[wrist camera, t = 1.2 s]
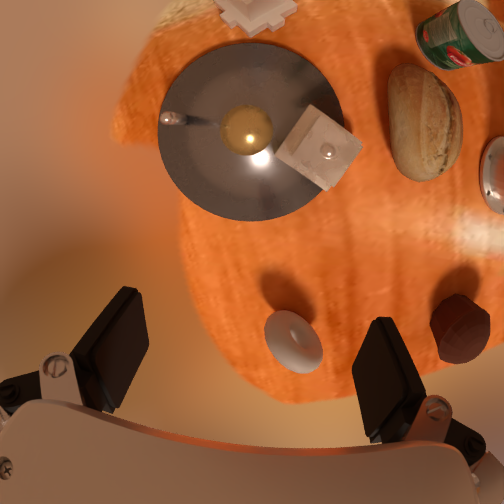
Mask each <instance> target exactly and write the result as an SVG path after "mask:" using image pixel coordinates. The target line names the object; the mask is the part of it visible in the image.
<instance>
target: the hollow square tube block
mask: <svg viewBox="0 0 504 504" xmlns="http://www.w3.org/2000/svg"><path fill="white" fill-rule="evenodd" d="M213 1H214V3H215V5H216V6H217V7H218V8H219V9H220V10H221V11H223V13H222V14H220V17H221V19H222V21H223V22H224V23H226V24H227V25H228V26H229V27H230V28H231V29H232V28H234V27H235V26H237V25H238V26H239V27H240V28H241V29H242V30H243V31H244V32H245V33H246V34H247V35H248V36H249V37H250V38H252V37H253V36H255V35H256V34H258V33H259V32H261V31H263V30H264V29H266V28H269V29H270V30H271V31H272V32H274V31H275V30H277V29H279V28H280V27H282V26H284V24H285V19H284V18H285V17H287V16H289V15H291V14H293V13H294V12H296V11H297V6H298V5H297V4H296V3H295V2H294V1H293V0H213Z"/></svg>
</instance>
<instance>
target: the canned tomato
mask: <svg viewBox="0 0 504 504" xmlns="http://www.w3.org/2000/svg"><path fill="white" fill-rule="evenodd" d="M415 36H416V41H417V44H418V46H419V49H420V50H421V52H422V54H423V55H424V56H425V57H426V59H427V60H428V61H429V62H430V63H432V64H433V65H434V66H436V67H438V68H439V69H442V70H447V71H449V70H454V69H459V68H463V67H467V66H473V65H477V64H483V63H488V62H495V61H502V60H504V32H503V30H502V28H501V26H500V24H499V23H498V21H497V20H496V18H495V17H494V16H493V15H492V13H491V12H490V11H489V10H488V9H487V8H486V7H484V6H483V5H482V4H480V3H479V2H477V1H475V0H460V1H459V2H457V3H455V4H453V5H451V6H449V7H447V8H446V9H444V10H442V11H440V12H439V13H437V14H435V15H433V16H432V17H430V18H428V19H427V20H425V21H423V22H421V23H420V24H419V25H418V26H417V28H416V33H415Z"/></svg>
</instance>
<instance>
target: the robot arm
mask: <svg viewBox="0 0 504 504" xmlns="http://www.w3.org/2000/svg"><path fill="white" fill-rule="evenodd" d="M480 187H481V191H482V195H483V198H484V200H485V202H486V204H487V205H488V207H489V208H490V209H491V210H493V211H494V212H496V213H498V214H502V215H504V136H498V137H495V138H494V139H492V140H491V141H490V142H489V144H488V145H487V146H486V148H485V150H484V153H483V156H482V159H481V164H480ZM148 347H149V339H148V333H147V327H146V321H145V315H144V308H143V302H142V295H141V293H139V292H138V290H137V289H136V288H132V287H126V286H123V287H122V288H121V289H120V290H119V291H118V293H117V294H116V295H115V296H114V298H113V299H112V300H111V301H110V302H109V304H108V305H107V306H106V307H105V309H104V310H103V311H102V312H101V314H100V315H99V316H98V317H97V319H96V320H95V321H94V322H93V324H92V325H91V326H90V328H89V329H88V330H87V332H86V333H85V334H84V335H83V337H82V338H81V340H80V341H79V342H78V343H77V345H76V346H75V347H74V349H73V350H72V352H71V353H70V354H69V355H68V354H66V353H64V352H54V353H51V354H48V355H47V356H46V357H44V358H43V360H42V361H41V363H40V365H39V370H38V371H35V372H32V373H28V374H24V375H21V376H17V377H13V378H9V379H6V380H4V381H3V382H1V383H0V504H501V503H502V501H503V500H504V466H503V465H502V464H501V463H500V462H499V461H498V460H497V459H496V457H495V456H494V455H493V454H492V453H491V452H490V451H488V452H487V453H486V452H485V450H486V443H485V441H484V438H483V437H482V436H481V435H480V434H479V433H477V432H476V431H474V430H472V429H470V428H468V427H467V426H465V425H463V424H461V423H459V422H458V421H456V420H455V419H453V418H452V413H453V412H452V407H451V405H450V403H449V402H448V401H447V400H446V399H445V398H443V397H441V396H439V395H430V396H428V397H427V395H426V393H425V392H426V390H425V388H424V385H423V383H422V381H421V378H420V376H419V374H418V371H417V369H416V367H415V365H414V363H413V360H412V358H411V356H410V354H409V352H408V350H407V348H406V345H405V343H404V341H403V339H402V337H401V335H400V333H399V331H398V329H397V327H396V325H395V323H394V321H393V319H392V318H391V317H377V318H376V320H373V321H372V323H371V325H370V327H369V330H368V332H367V334H366V337H365V339H364V341H363V344H362V346H361V348H360V350H359V352H358V355H357V357H356V359H355V361H354V363H353V365H352V375H353V379H354V383H355V388H356V392H357V396H358V401H359V405H360V410H361V414H362V420H363V424H364V429H365V434H366V436H367V437H369V438H370V443H378V442H382V444H378V445H368V446H356V447H343V448H342V447H341V448H315V449H314V448H311V449H310V448H307V449H306V448H304V449H303V448H273V447H259V446H248V445H238V444H231V443H224V442H216V441H211V440H204V439H199V438H194V437H189V436H184V435H179V434H175V433H170V432H166V431H162V430H158V429H154V428H150V427H147V426H143V425H140V424H137V423H133V422H130V421H127V420H124V419H120V418H117V417H114V416H111V415H108V414H105V413H103V412H102V410H103V411H106V412H109V413H112V414H113V412H114V410H115V408H119V407H120V405H121V403H122V401H123V399H124V397H125V395H126V393H127V390H128V388H129V386H130V384H131V382H132V380H133V378H134V376H135V374H136V372H137V370H138V367H139V366H140V364H141V362H142V360H143V357H144V356H145V354H146V352H147V350H148Z"/></svg>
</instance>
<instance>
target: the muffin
mask: <svg viewBox="0 0 504 504" xmlns="http://www.w3.org/2000/svg"><path fill="white" fill-rule="evenodd" d="M430 327H431V330H432V332H433V335H434V338H435V341H436V344H437V347H438V353H439V357H440V359H441V360H443V361H445V362H448V363H452V364H461V363H467V362H469V361H471V360H473V359H475V358H476V357H477V356H478V355H479V354H480V353H481V352H482V351H483V349H484V348H485V346H486V344H487V341H488V339H489V336H490V315H489V314H488V313H487V312H486V311H485V310H484V309H482V308H480V307H479V306H478V305H477V304H475V303H474V302H473V301H471V300H470V299H469V298H467V297H466V296H461V295H457V294H454V295H453V296H451V297H450V298H447V299H445V300H443V301H442V303H441V304H440V305H439V307H438V308H437V309H436V310H435V311H434V312H433V316H432V320H431V322H430Z"/></svg>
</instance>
